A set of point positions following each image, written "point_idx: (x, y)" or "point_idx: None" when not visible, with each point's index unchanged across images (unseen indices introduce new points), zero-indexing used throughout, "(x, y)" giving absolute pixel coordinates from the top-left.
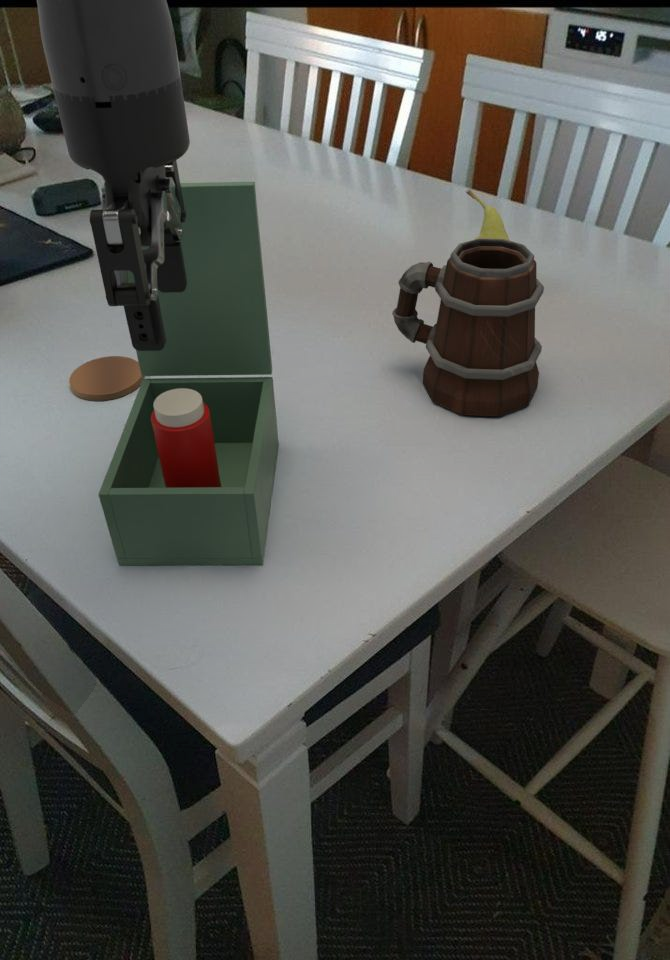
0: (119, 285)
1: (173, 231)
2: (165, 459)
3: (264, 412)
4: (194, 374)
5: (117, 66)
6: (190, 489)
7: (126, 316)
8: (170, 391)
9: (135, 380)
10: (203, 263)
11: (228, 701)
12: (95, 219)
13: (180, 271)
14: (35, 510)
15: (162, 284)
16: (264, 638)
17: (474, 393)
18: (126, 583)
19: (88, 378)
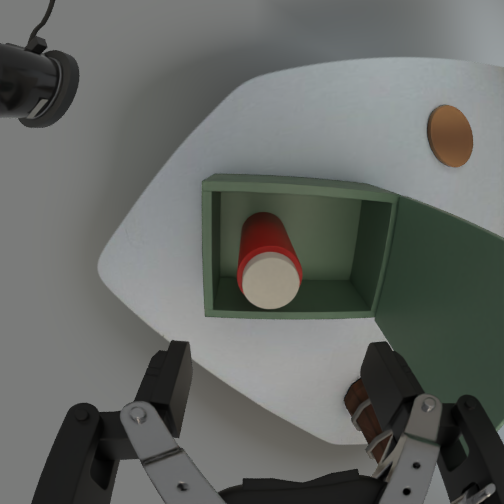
0: (100, 441)
1: (383, 455)
2: (244, 243)
3: (322, 317)
4: (391, 251)
5: None
6: (208, 267)
7: (158, 379)
8: (293, 273)
9: (445, 161)
10: (451, 348)
11: (110, 265)
12: None
13: (370, 394)
14: (285, 90)
15: (373, 355)
16: (152, 283)
17: (354, 400)
18: (195, 184)
19: (449, 121)
